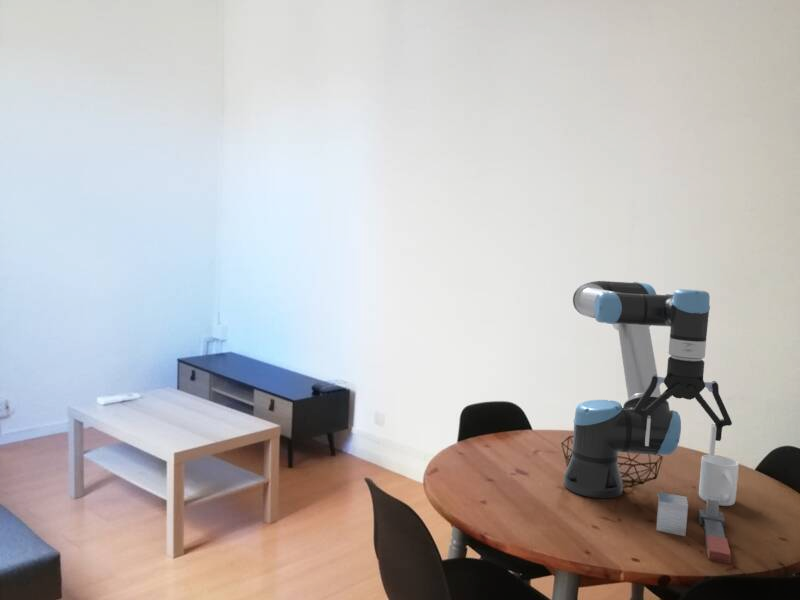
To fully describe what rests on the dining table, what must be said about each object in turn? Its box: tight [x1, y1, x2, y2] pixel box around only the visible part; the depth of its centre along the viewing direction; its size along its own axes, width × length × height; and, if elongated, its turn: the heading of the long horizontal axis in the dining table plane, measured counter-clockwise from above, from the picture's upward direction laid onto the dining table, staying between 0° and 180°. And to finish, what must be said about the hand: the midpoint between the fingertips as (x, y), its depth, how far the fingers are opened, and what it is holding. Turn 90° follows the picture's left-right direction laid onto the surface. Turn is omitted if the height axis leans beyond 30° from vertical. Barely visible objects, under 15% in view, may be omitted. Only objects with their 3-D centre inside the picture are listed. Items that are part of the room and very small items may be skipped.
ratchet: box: [698, 496, 732, 565], centre depth 137 cm, size 23×5×6 cm, turn 157°
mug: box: [698, 454, 740, 507], centre depth 158 cm, size 9×12×11 cm
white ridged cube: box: [656, 491, 689, 537], centre depth 142 cm, size 6×6×7 cm
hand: (678, 449), depth 141 cm, fingers open, 13 cm apart
